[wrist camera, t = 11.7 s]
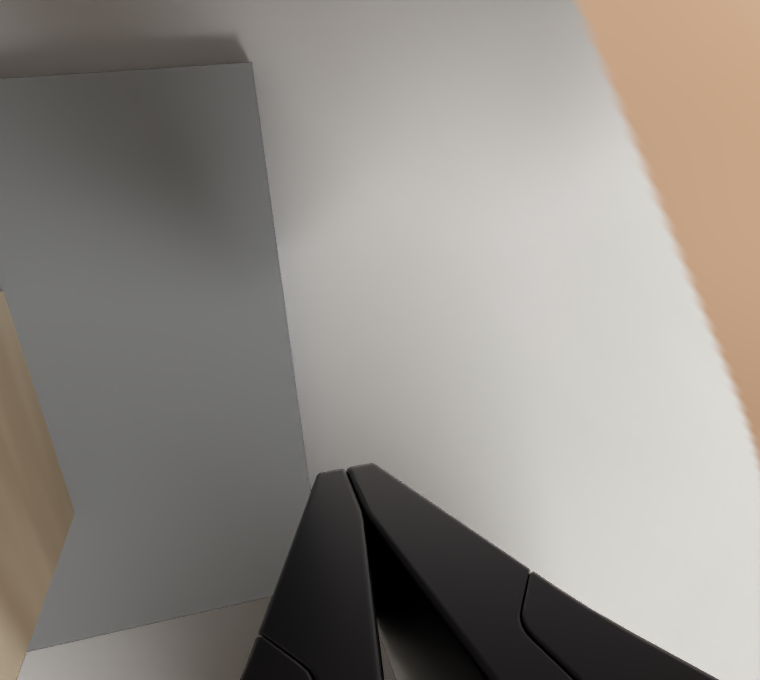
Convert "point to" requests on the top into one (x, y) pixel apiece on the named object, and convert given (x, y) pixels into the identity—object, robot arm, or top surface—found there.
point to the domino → (25, 502)
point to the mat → (152, 339)
